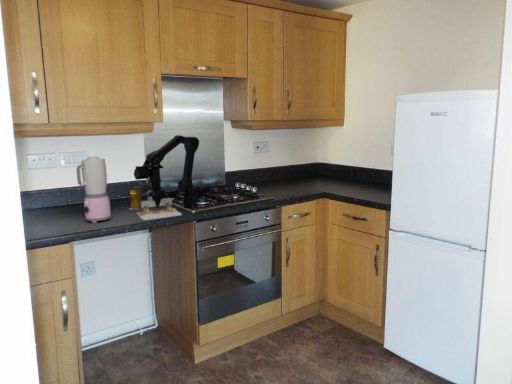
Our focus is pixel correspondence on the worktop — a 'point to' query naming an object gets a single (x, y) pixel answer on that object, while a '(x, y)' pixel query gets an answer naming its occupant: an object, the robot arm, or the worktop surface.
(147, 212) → the rack
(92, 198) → the blender
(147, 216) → the mat
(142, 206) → the rail
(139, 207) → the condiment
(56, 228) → the worktop surface
